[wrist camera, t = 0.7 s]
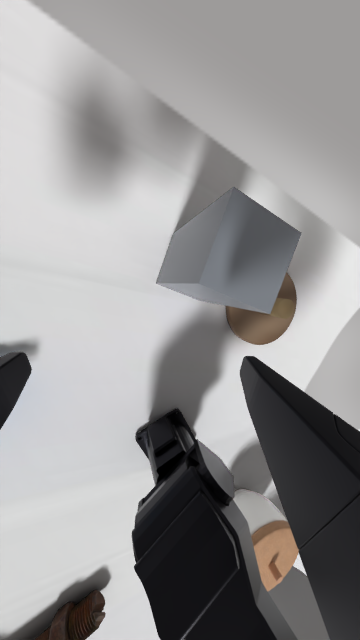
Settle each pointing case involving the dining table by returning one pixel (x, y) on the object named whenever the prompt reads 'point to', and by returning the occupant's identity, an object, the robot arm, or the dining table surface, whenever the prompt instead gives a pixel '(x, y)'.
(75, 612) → the bolt
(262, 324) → the stub base
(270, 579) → the lidded jar
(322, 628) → the alarm clock
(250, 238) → the block
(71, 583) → the dining table surface
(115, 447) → the dining table surface
